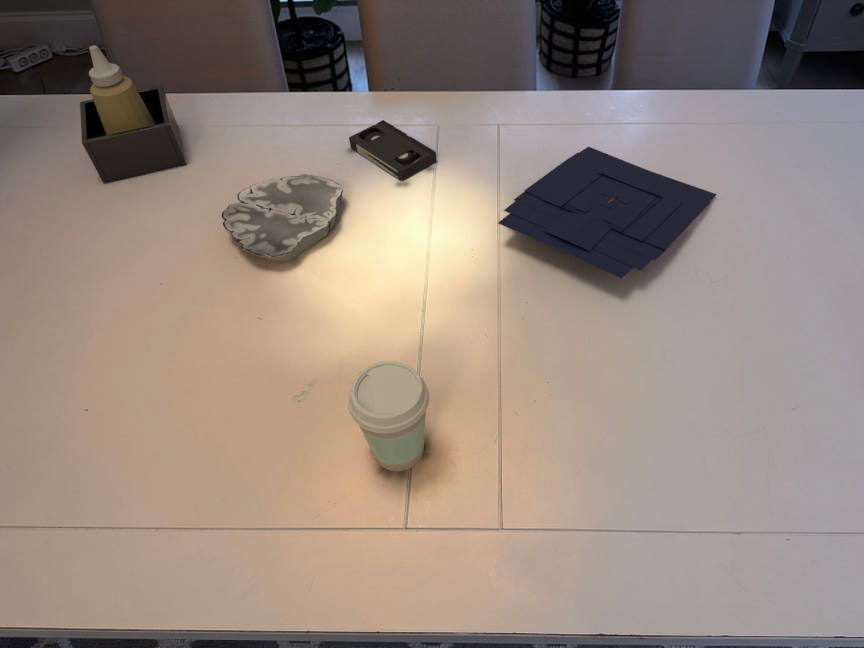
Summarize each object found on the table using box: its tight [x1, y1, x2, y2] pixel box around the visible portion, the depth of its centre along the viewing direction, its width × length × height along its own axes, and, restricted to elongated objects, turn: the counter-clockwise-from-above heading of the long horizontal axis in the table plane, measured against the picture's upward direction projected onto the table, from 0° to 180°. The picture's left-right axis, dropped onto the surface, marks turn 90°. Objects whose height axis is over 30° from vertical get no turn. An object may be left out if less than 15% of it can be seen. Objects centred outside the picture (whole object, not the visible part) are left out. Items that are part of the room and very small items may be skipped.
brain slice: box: [221, 173, 344, 262], centre depth 104 cm, size 20×17×3 cm
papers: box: [497, 146, 717, 280], centre depth 104 cm, size 24×30×4 cm
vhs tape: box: [348, 119, 438, 182], centre depth 116 cm, size 14×8×2 cm, turn 44°
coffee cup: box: [347, 360, 430, 472], centre depth 74 cm, size 8×8×12 cm
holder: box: [79, 85, 187, 185], centre depth 116 cm, size 14×14×8 cm
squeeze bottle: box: [88, 45, 156, 135], centre depth 111 cm, size 8×8×18 cm
